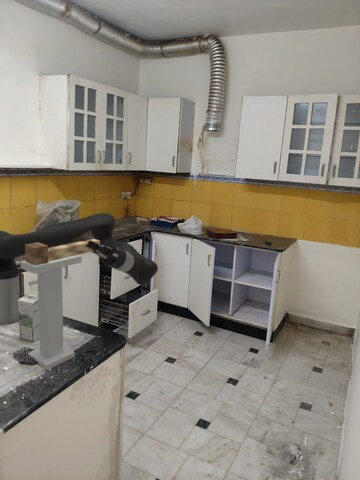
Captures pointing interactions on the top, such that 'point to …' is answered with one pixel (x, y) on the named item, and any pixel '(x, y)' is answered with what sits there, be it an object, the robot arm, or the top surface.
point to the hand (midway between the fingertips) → (84, 242)
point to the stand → (51, 311)
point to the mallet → (54, 251)
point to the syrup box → (28, 317)
